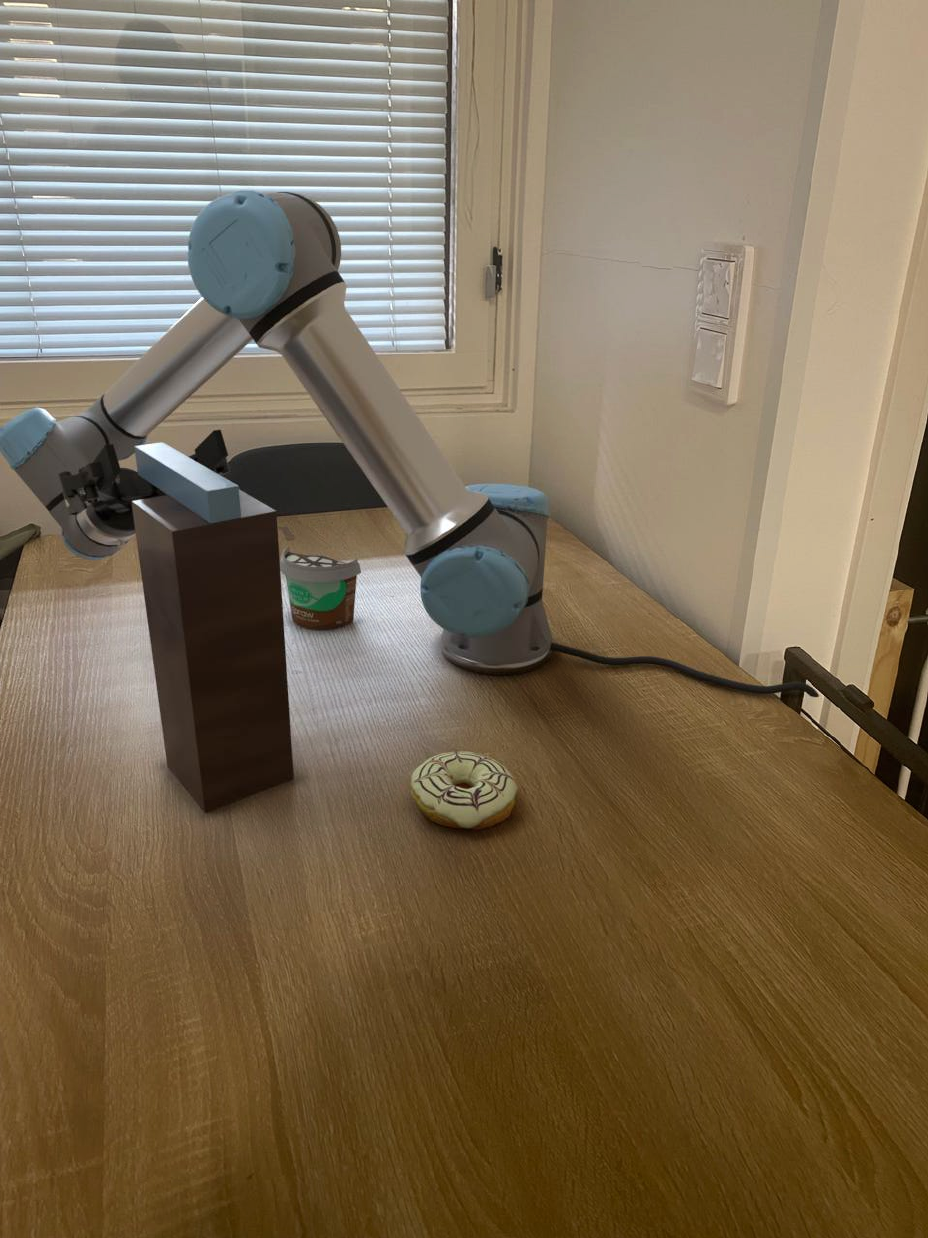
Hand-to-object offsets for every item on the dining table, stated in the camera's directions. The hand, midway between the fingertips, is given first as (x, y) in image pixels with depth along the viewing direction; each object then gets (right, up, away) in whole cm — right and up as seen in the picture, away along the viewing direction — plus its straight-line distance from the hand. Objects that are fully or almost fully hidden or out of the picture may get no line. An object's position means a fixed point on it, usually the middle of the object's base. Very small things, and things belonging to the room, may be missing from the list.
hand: (168, 450), depth 88 cm
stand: (+4, -33, +9) cm, 34 cm away
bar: (+2, -4, -1) cm, 5 cm away
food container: (+7, -17, +43) cm, 47 cm away
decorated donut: (+29, -36, +5) cm, 46 cm away
